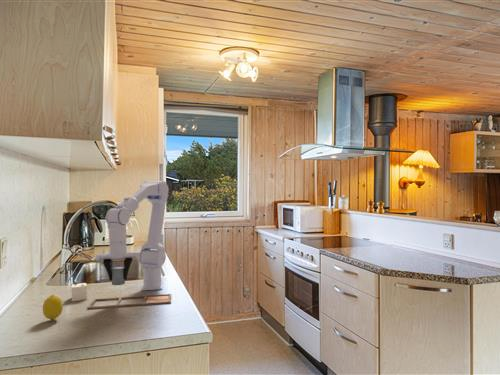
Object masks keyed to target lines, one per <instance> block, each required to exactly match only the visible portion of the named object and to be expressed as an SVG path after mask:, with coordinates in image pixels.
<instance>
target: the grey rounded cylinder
mask: <svg viewBox="0 0 500 375" xmlns="http://www.w3.org/2000/svg"><path fill="white" fill-rule="evenodd" d="M125 283H126V280H124V266H116V267H112V281H111V285H112V286H122V285H125Z"/></svg>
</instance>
